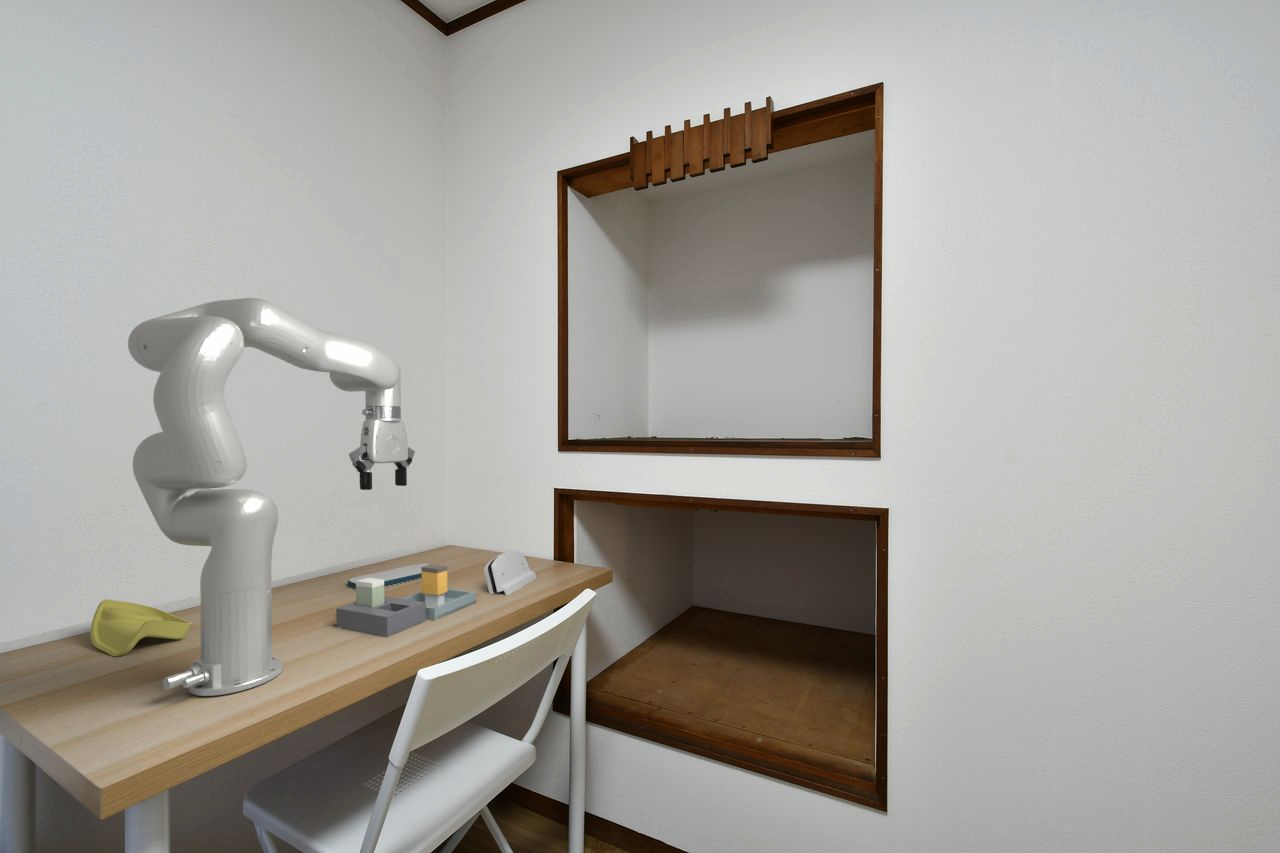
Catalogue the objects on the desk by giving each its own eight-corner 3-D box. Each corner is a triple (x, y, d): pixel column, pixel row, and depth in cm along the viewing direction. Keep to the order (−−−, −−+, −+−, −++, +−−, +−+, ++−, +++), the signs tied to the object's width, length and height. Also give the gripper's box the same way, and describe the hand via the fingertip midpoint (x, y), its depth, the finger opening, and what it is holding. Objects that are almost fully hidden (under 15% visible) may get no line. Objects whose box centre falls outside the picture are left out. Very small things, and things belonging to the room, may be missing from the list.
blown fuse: (437, 608, 123) (437, 569, 123) (421, 605, 125) (421, 567, 125) (447, 604, 125) (447, 566, 126) (431, 602, 128) (431, 564, 128)
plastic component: (197, 625, 110) (142, 617, 101) (177, 663, 107) (118, 659, 99) (149, 605, 118) (95, 597, 110) (130, 640, 116) (72, 634, 107)
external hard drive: (362, 594, 139) (362, 586, 139) (343, 586, 146) (343, 579, 146) (445, 574, 157) (445, 567, 157) (425, 568, 164) (425, 562, 164)
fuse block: (387, 637, 107) (387, 592, 107) (336, 627, 113) (336, 584, 113) (426, 620, 116) (425, 579, 116) (377, 612, 122) (376, 573, 123)
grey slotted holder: (506, 595, 134) (494, 557, 135) (491, 601, 135) (478, 563, 136) (537, 578, 150) (525, 544, 151) (523, 583, 151) (511, 549, 152)
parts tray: (434, 620, 117) (434, 608, 117) (391, 613, 122) (391, 601, 122) (475, 602, 128) (475, 592, 128) (434, 596, 134) (434, 586, 134)
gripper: (362, 413, 117) (362, 491, 117) (423, 415, 133) (424, 484, 132) (338, 414, 120) (339, 490, 120) (401, 416, 136) (402, 483, 135)
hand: (384, 487), depth 126 cm, fingers open, 9 cm apart
